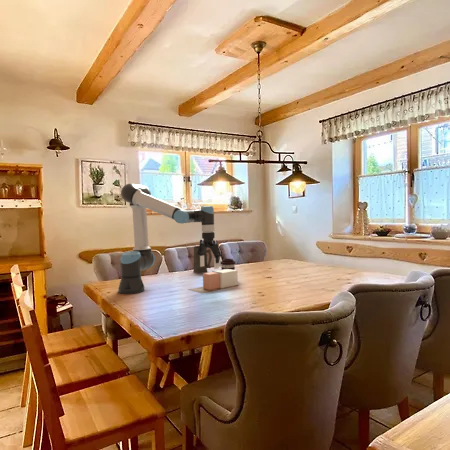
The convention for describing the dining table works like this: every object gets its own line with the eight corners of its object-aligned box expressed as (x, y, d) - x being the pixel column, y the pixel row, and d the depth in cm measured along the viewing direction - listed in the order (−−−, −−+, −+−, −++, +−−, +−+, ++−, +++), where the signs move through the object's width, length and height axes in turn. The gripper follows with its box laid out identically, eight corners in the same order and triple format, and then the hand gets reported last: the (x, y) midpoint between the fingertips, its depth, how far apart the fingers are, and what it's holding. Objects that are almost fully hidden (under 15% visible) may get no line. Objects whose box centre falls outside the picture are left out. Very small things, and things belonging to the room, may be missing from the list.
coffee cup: (234, 283, 230) (233, 260, 229) (219, 283, 232) (218, 260, 231) (236, 280, 240) (236, 258, 239) (222, 280, 242) (222, 258, 241)
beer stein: (190, 272, 274) (191, 246, 272) (195, 270, 284) (196, 245, 283) (209, 274, 269) (210, 248, 268) (213, 272, 279) (215, 246, 278)
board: (201, 294, 200) (201, 293, 200) (187, 290, 211) (187, 289, 211) (240, 286, 220) (240, 285, 220) (225, 283, 230) (225, 282, 230)
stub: (209, 289, 209) (209, 274, 209) (203, 288, 213) (202, 273, 213) (219, 287, 214) (219, 272, 214) (213, 286, 219) (213, 271, 218)
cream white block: (221, 288, 213) (221, 272, 213) (212, 285, 220) (212, 271, 220) (237, 284, 222) (237, 270, 221) (228, 282, 228) (227, 268, 228)
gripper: (226, 232, 204) (227, 268, 205) (200, 231, 223) (201, 264, 224) (216, 232, 199) (217, 270, 200) (190, 231, 218) (191, 266, 219)
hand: (209, 267), depth 212 cm, fingers open, 13 cm apart
